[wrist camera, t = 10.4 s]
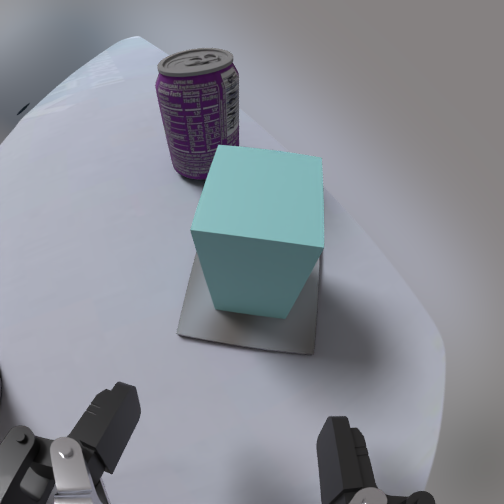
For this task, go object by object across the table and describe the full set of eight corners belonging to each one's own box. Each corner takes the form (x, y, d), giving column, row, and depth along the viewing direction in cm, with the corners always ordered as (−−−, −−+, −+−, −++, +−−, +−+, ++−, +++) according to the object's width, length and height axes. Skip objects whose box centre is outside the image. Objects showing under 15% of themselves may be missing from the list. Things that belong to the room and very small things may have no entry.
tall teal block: (215, 309, 20) (190, 229, 10) (227, 248, 22) (218, 144, 13) (285, 319, 20) (324, 247, 10) (291, 256, 22) (321, 157, 13)
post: (177, 334, 19) (130, 289, 11) (205, 223, 24) (190, 137, 16) (312, 354, 19) (364, 324, 10) (318, 239, 24) (352, 158, 15)
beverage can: (226, 135, 30) (223, 42, 20) (249, 173, 27) (253, 65, 17) (168, 151, 29) (148, 57, 18) (181, 193, 26) (156, 83, 15)
